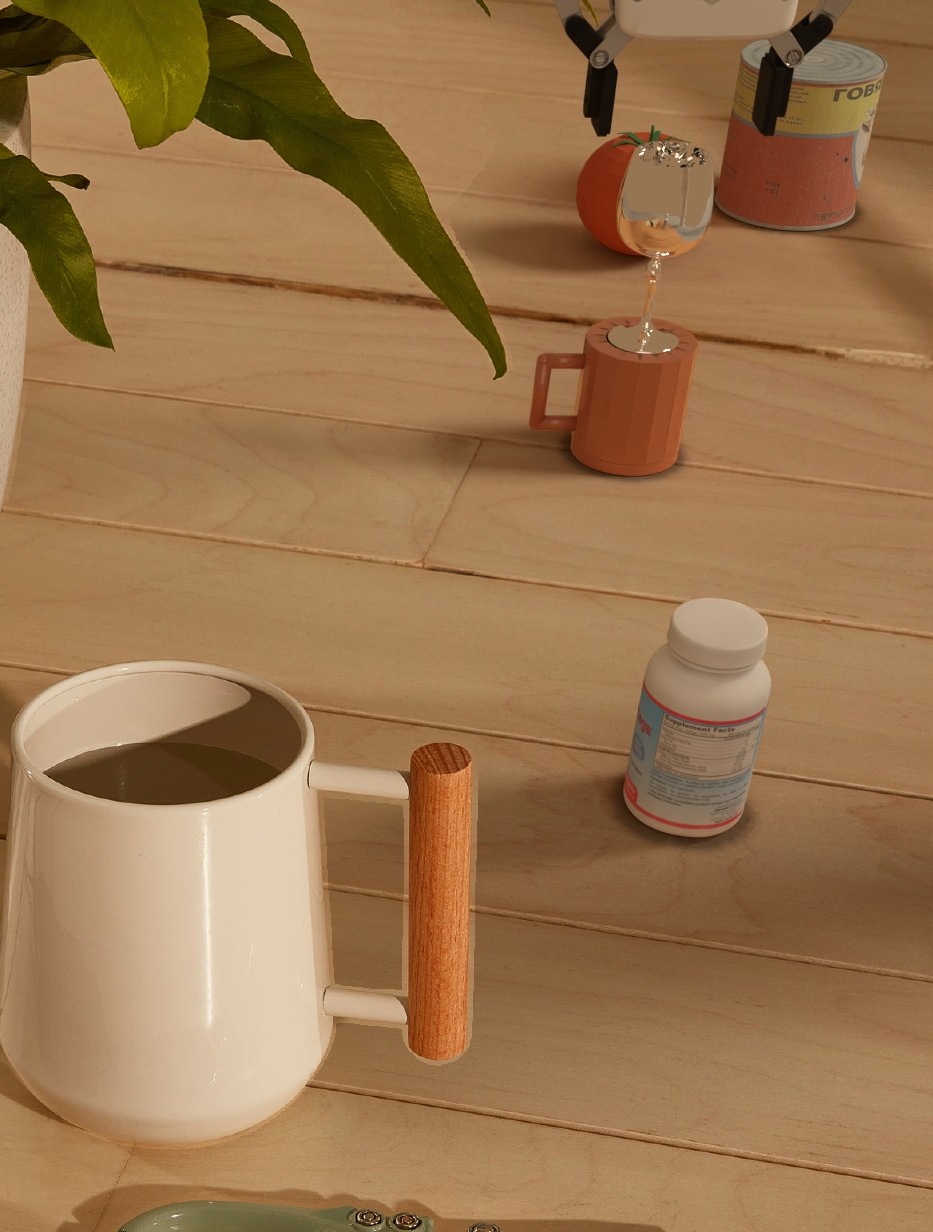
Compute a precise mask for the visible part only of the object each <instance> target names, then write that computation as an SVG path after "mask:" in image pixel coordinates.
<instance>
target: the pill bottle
mask: <svg viewBox="0 0 933 1232" xmlns="http://www.w3.org/2000/svg"><path fill="white" fill-rule="evenodd" d="M768 636H769V626H768V623H767V621H766V619H765V618H764V617H763V616H762V614H760V613H759V612H758V611H756V610H755V609H753V608H752V607H750V606H748V605H746V604H744V603H741V602H738V601H735V600H731V599H726V598H719V597H701V598H700V597H699V598H694V599H691V600H688V601H684V602H682V603H681V604H679V605H678V606H677V607H676V608H675V609H674V610H673V612H672V614H671V616H670V621H669V626H668V629H667V632H666V639H667V640H666V643H664V644H663V645H662V646H660V647H658V649H656V651H655V652H654V653H653V654H652V655H651V657H650V658H649V660H648V662H647V665H646V668H645V672H644V676H643V680H642V687H641V690H640V691H641V692H640V697H639V702H638V707H637V713H636V718H635V723H634V728H633V734H632V739H631V743H630V750H629V756H628V761H627V766H626V771H625V777H624V783H623V790H622V791H623V799H624V802H625V804H626V807H627V809H628V810H629V811H630V813H631V814H632V815H633V816H634V817H635V818H636V819H637V820H638V821H640V822H641V823H643V824H644V825H646V826H647V827H649V828H652V829H654V830H656V831H659V832H662V833H665V834H668V835H669V834H670V835H674V836H681V837H687V838H708V837H712V836H717V835H719V834H722V833H724V832H726V831H728V830H729V829H731V828H732V827H734V826H735V825H736V824H737V823H738V822H739V821H740V819H741V818H742V816H743V813H744V810H745V806H746V803H747V799H748V795H749V791H750V785H751V781H752V777H753V773H754V769H755V766H756V765H755V763H756V761H757V755H758V751H759V746H760V742H761V737H762V733H763V729H764V725H765V719H766V715H767V711H768V707H769V703H770V698H771V692H772V678H771V677H772V676H771V673H770V671H769V669H768V667H767V665H766V663H765V662H764V661H763V659H762V658H763V657H764V655H765V654H766V650H767V641H768Z"/></svg>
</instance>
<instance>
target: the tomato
mask: <svg viewBox="0 0 933 1232" xmlns="http://www.w3.org/2000/svg"><path fill="white" fill-rule="evenodd" d="M617 135H620V136H617V137H615V138H612V139H610V140H608V141H606V142H605V143H603V144H602V145H601V146H599V147H597V149H595V150H594V151H593V152H592V153H591V155H590V156H589V157H588V158H587V160H586V161H585V163H584V165H583V167H582V169H581V171H580V172H579V173H580V174H579V176H578V180H577V183H576V187H575V203H576V208H577V211H578V212H577V213H578V216H579V218H580V220H581V222H582V224H583V226H584V228H585V229H586V230H587V231H588V232H589V234H590V235H591V236H592V238H593V239H595V240H596V241H597V242H599V243H600V244H602V245H603V246H605V247H606V248H608V249H610V250H612V251H615V252H618V253H621V254H624V255H630V256H643V255H642V254H639V253H637V252H636V251H634V250H632V249H631V248H629V247H628V246H627V245H626V244H625V243H624V242H623V240H622V239H621V237H620V235H619V233H618V230H617V226H616V205H617V200H618V195H619V191H620V188H621V184H622V181H623V178H624V175H625V172H626V169H627V167H628V164H629V161H630V159H631V157H632V155H633V153H634V150H635V148H637V147H638V146H640V145H642V144H645V143H649V142H655V141H677V142H685V143H689V144H692V142H690V141H687V140H684V139H681V138H678V137H676V136H672V135H668V134H666V133H662V131H660V130H655V125H654V124H651V126H650V131H640V132H639V131H637V132H632V131H625V132H617Z"/></svg>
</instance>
